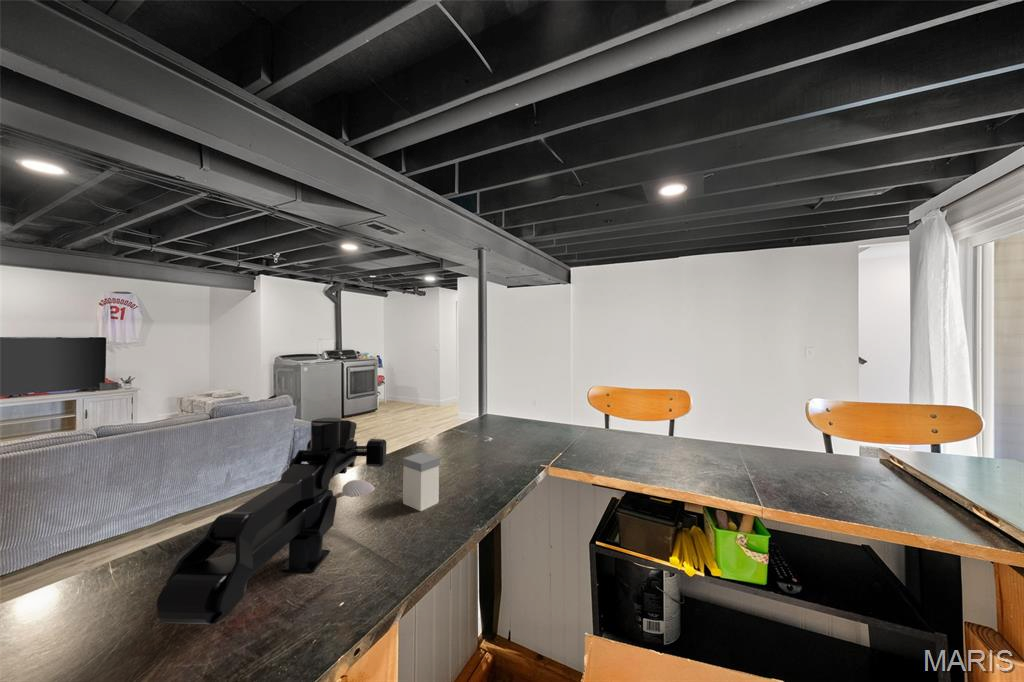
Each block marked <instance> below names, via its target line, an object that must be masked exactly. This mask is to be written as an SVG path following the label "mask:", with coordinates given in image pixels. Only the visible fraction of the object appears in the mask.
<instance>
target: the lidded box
mask: <svg viewBox="0 0 1024 682" xmlns="http://www.w3.org/2000/svg"><path fill="white" fill-rule="evenodd" d="M440 462H441V459H440V456H435V455H432V454H429V453H425V452H422V451H421V452H419V453H415V454H411V455H408V456H405V457H402V466H403V467H402V468H403V469H402V470H403V471H402V472H403V474H402V475H403V476H402V479H403V481H402V482H403V483H402V490H403V492H402V504H403V505H405V506H408V507H409V508H410V507H411V508H412V509H414V510H417V511H419V512H422V511H424V510H427V509H428V508H431V507H433V506H435V505H437V504H439V501H440V500H439V498H440V497H439V496H440V495H439V492H440V488H439V487H440V484H439V483H440V466H441V465H440V464H441V463H440Z"/></svg>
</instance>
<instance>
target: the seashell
mask: <svg viewBox="0 0 1024 682" xmlns="http://www.w3.org/2000/svg"><path fill="white" fill-rule="evenodd" d="M341 491H342V492H341V495H340V498H341V497H344V496H345V497H349V498H355V497H356V498H357V497H362V496H363V497H364V496H366V495H368V494H372V492H374V491H375V486H374V485H373V484H371V483H369V482H368V481H365V480H361V479H353V480H349V481H347V482H346V483H345V484H344V485H343V486H342V489H341Z"/></svg>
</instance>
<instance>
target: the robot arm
mask: <svg viewBox="0 0 1024 682" xmlns="http://www.w3.org/2000/svg"><path fill="white" fill-rule="evenodd" d="M357 425H358V424H357V423H356V422H355V421H351V420H348V419H345V420H344V419H342V420H341V418H339V417H321V418H320V417H319V418H316V419H313V420H311V422H310V439H309V440H308V441H307V443H306V449H300V450H298V451H297V453H296V454H295V456H294V457H292V459H291V462H290V464H289V466H288V468H287V469H286V470H285V471H284V472H283V473H281V477H280V481H278V482H277V483H276V484H274V485H272V486H270V487H269V488H268V489H266V490H264V491H262V492H261V493H259V494H257V495H255V496H254V497H252V498H251V499H249V500H247V501H246V502H244V503H243V504H241V505H239V506H238V507H236V508H235V509H233V510H231V511H229V512H225V513H223V514H220V515H219V516H217V517H216V518H215V519H214V521H213V522H212V523H211V525H210V527H209V529H208V531H207V533H206V535H205V536H204V537H203V538H202V539H201V540H200V541H198V543H196V544H195V545H194V546H192V548H191V549H190V550H188V551H187V552H185V554H184V555H183V556H182V557H181V558H180V559H179V560H178V562H177V564H176V565H175V567H174V569H173V570H172V573H171V574H170V576H169V578H168V579H167V581H166V583H165V584H164V586H163V588H162V590H160V593H159V595H158V598H157V601H156V609H157V611H156V612H157V618H158V620H159V621H160V622H161V623H164V624H185V625H186V624H189V625H190V624H191V625H194V624H196V625H197V624H198V625H217V624H219V623H221V622H222V621H223V620H224V619H225V618H227V617H228V616H229V614H230V613H231V612H232V611H233V610H234V608H235V607H236V606H237V605H238V604H239V603H240V601H241V600H242V599H243V598H244V597H245V595H246V591H247V586H248V585H247V584H248V581H249V579H250V578H251V577H252V576H253V575H254V574H255V573H257V571H259V570H260V569H261V568H262V567H263V566H264V565H265V564H267V562H268V561H270V560H271V559H272V558H273V557H274V556H275V555H276V554H278V553H279V551H281V550H282V549H283V548H284V547H286V545H288V560H287V561H286V562H285V563H284V564H283V565H282V566H281V567H280V571H281V572H297V573H298V572H302V573H303V572H306V573H309V572H310V573H311V572H314V571H315V570H316V569H318V567H319V566H320V565H321V564H322V563H323V561H324V560H325V559H326V558H327V557H328V556H329V555H330V553H331V551H330V549H323V548H324V546H323V545H324V535H326V533H327V532H328V531H330V529H331V528H332V527H333V525H334V522H335V515H336V509H337V504H338V503H337V502H338V500H337V499H338V498H337V497H336V496H335V495H334V491H333V490H332V489H329V488H330V482H331V480H332V479H333V478H334V477H336V476H337V475H338V474H339V475H340V474H346V473H347V468H355V463H356V462H355V461H356V460H357V457H366V458H365V463H366V464H365V465H366V466H367V467H369V468H370V467H371V468H373V467H375V468H376V467H377V468H381V467H383V465H385V464H386V463H387V440H386V439H383V438H370V439H369V440H368V441H367V442H366V445H358V444H357V443H358V441H357V440H355V437H356V436H355V435H356V430H357V427H358V426H357ZM303 462H304V463H303ZM305 462H306V463H305ZM224 543H231V544H232V543H233V544H235V547H234V548H232V549H231V550H230V551H229V552H228V551H227V553H226V554H223V555H221V556H217V557H214V558H211V556H212V555H214V553H216V552H217V550H219V549H220V548H221V547H222V545H223V544H224ZM209 558H211V559H209Z"/></svg>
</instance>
